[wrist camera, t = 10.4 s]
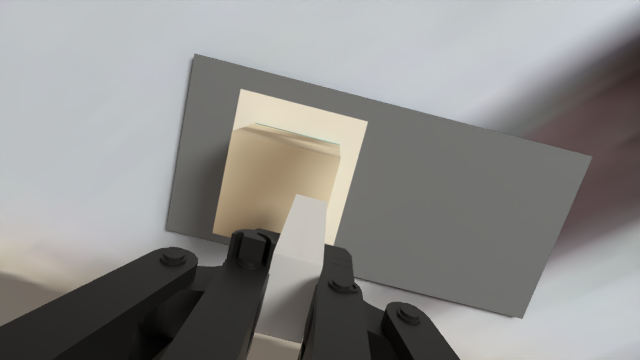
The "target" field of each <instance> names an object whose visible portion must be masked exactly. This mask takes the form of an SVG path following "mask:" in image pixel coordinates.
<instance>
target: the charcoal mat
mask: <svg viewBox="0 0 640 360" xmlns="http://www.w3.org/2000/svg"><path fill="white" fill-rule="evenodd" d="M254 123H258V124H262V125H266V126H270V127H274V128H278V129H282V130H286V131H290V132H293V133H297V134H301V135H305V136H309V137H313V138H317V139H321V140H325V141H328V142H332V143H336V144H340V156H341V160H340V163H339V167H338V171H337V175H336V178H335V182H334V186H333V189H332V193H331V197H330V201H329V204H328V208H327V214H326V228H325V243H324V244H328V245H332V246H336V247H340V248H344V249H346V250H347V251H348V252H349V253H350V254H351V256H352V264H353V273H354V277H358V278H362V279H366V280H370V281H374V282H377V283H381V284H385V285H389V286H393V287H397V288H401V289H405V290H409V291H413V292H417V293H421V294H425V295H429V296H433V297H437V298H441V299H445V300H449V301H453V302H457V303H461V304H465V305H469V306H473V307H477V308H481V309H485V310H489V311H493V312H497V313H501V314H505V315H509V316H513V317H517V318H521V319H522V318H523V316H524V314H525V311H526V309H527V307H528V304H529V302H530V300H531V297H532V295H533V293H534V291H535V288H536V286H537V284H538V281H539V279H540V277H541V274H542V272H543V270H544V268H545V265H546V263H547V261H548V258H549V256H550V254H551V251H552V249H553V247H554V244H555V242H556V240H557V238H558V235H559V233H560V231H561V228H562V226H563V224H564V221H565V219H566V217H567V214H568V212H569V210H570V208H571V205H572V203H573V201H574V198H575V196H576V194H577V191H578V189H579V187H580V185H581V182H582V180H583V178H584V175H585V173H586V171H587V168H588V166H589V164H590V161H591V159H592V156H588V155H585V154H581V153H577V152H573V151H569V150H565V149H561V148H558V147H554V146H550V145H546V144H542V143H538V142H534V141H530V140H527V139H523V138H519V137H515V136H511V135H507V134H503V133H500V132H496V131H492V130H488V129H484V128H480V127H476V126H473V125H469V124H465V123H461V122H457V121H453V120H449V119H446V118H442V117H438V116H434V115H430V114H426V113H422V112H419V111H415V110H411V109H407V108H403V107H399V106H395V105H391V104H388V103H384V102H380V101H376V100H372V99H368V98H364V97H361V96H357V95H353V94H349V93H345V92H341V91H337V90H334V89H330V88H326V87H322V86H318V85H314V84H310V83H307V82H303V81H299V80H295V79H291V78H287V77H283V76H280V75H276V74H272V73H268V72H264V71H260V70H256V69H252V68H249V67H245V66H241V65H237V64H233V63H229V62H225V61H222V60H218V59H214V58H210V57H206V56H202V55H198V54H194V61H193V67H192V73H191V79H190V85H189V91H188V98H187V104H186V110H185V116H184V122H183V129H182V135H181V141H180V147H179V153H178V160H177V166H176V172H175V178H174V184H173V191H172V197H171V203H170V209H169V215H168V221H167V228H166V230H170V231H174V232H178V233H182V234H186V235H190V236H194V237H198V238H202V239H206V240H210V241H214V242H218V243H222V244H226V245H230V240H231V237H227V236H223V235H219V234H215V233H212V232H213V227H214V222H215V217H216V212H217V207H218V202H219V196H220V191H221V186H222V181H223V176H224V171H225V166H226V160H227V155H228V150H229V145H230V140H231V135H232V131H233V130H236V129H239V128H242V127H245V126H248V125H251V124H254Z"/></svg>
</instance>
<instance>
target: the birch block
mask: <svg viewBox="0 0 640 360" xmlns="http://www.w3.org/2000/svg"><path fill="white" fill-rule="evenodd" d="M340 160H341V156H340V144H336V143H332V142H328V141H325V140H321V139H317V138H313V137H309V136H305V135H301V134H297V133H293V132H290V131H286V130H282V129H278V128H274V127H270V126H266V125H262V124H258V123H254V124H251V125H248V126H245V127H242V128H239V129H236V130H233V131H232V135H231V140H230V145H229V150H228V155H227V160H226V166H225V171H224V176H223V181H222V186H221V191H220V196H219V202H218V207H217V212H216V217H215V222H214V227H213V232H212V233H215V234H219V235H223V236H227V237H231V235H232V233H233V232H235V231H236V230H241V229H252V230H255V229H257V228H261V229H265V230H269V231H273V232H277V233H281V232H282V230H283V227H284V225H285V222H286V219H287V217H288V214H289V212H290V209H291V207H292V204H293V201H294V199H295V196H296V194H298V195H302V196H306V197H310V198H314V199H318V200H322V201H326V202H327V208H328V204H329V201H330V197H331V193H332V189H333V186H334V182H335V178H336V175H337V171H338V167H339V163H340Z"/></svg>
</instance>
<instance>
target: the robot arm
mask: <svg viewBox="0 0 640 360" xmlns="http://www.w3.org/2000/svg"><path fill="white" fill-rule="evenodd" d="M326 214H327V202H326V201H322V200H318V199H314V198H310V197H306V196H302V195H298V194H296V196H295V199H294V201H293V204H292V207H291V209H290V212H289V214H288V217H287V219H286V222H285V225H284V227H283V230H282V232H281V233H277V232H273V231H269V230H265V229H261V228H257V229H255V230H252V229H241V230H236V231H235V232H233V233H232V235H231V240H230V245H229V250H228V255H227V259H226V260H225V262H224V263H223V265H222V266H216V267H206V266H197V263H198V258H197V257H196V255H195V254H193V253H192V252H190V251H188V250H184V249H182V248H178V247H176V248H175V247H169V248H161V249H158V250H155V251H152V252H150V253H148V254H146V255H144V256H142V257H140V258H138V259H136V260H134V261H132V262H130V263H128V264H126V265H124V266H122V267H120V268H118V269H116V270H114V271H112V272H110V273H108V274H106V275H104V276H102V277H100V278H98V279H96V280H94V281H92V282H90V283H88V284H86V285H83V286H81V287H79V288H77V289H75V290H73V291H71V292H69V293H67V294H65V295H63V296H61V297H59V298H57V299H55V300H53V301H51V302H49V303H47V304H45V305H43V306H41V307H39V308H37V309H35V310H33V311H31V312H29V313H27V314H25V315H23V316H21V317H19V318H17V319H15V320H13V321H11V322H9V323H7V324H5V325H3V326H1V327H0V360H246V359H247V356H248V353H249V350H250V347H251V344H252V340H253V336H254V332H256V333H260V334H264V335H268V336H272V337H276V338H280V339H284V340H288V341H293V342H297V343H302V345H301V349H300V353H299V356H298V360H460V359H459V357H458V356H457V355H456V353H455V352H454V351H453V349H452V348H451V347H450V345H449V344H448V343H447V341H446V340H445V339H444V337H443V336H442V335H441V333H440V332H439V330H438V329H437V328H436V326H435V325H434V324H433V322H432V321H431V320H430V318H429V317H428V316H427V315H426V314H425V313H424V312H422V311H421V310H419V309H418V308H417V307H415V306H413V305H411V304H408V303H402V302H391V303H389V304H388V305H387V307H386V309H385V311H383V310H380V309H378V308H376V307H374V306H372V305H370V304H368V303H367V302H365V301H364V300H363V297H362V291H361V289H360V287H359V286H358V285H357V284H356V283H355V282H354V273H353V264H352V256H351V254H350V253H349V252H348V251H347V250H346V249H344V248H340V247H336V246H332V245H328V244H324V243H325V228H326ZM303 336H304V337H303ZM302 339H303V342H302Z"/></svg>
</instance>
